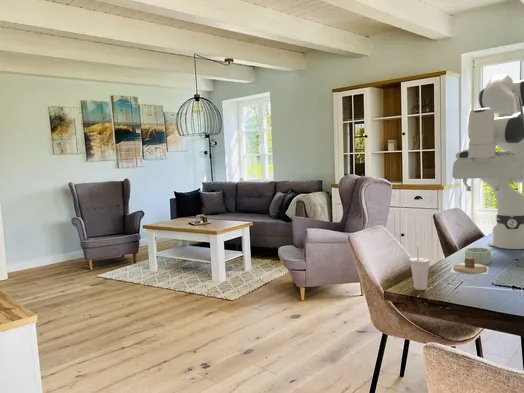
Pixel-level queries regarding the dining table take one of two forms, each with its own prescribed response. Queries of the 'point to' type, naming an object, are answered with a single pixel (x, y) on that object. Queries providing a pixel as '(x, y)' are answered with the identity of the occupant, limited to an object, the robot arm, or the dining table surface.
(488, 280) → the dining table surface
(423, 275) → the smoothie
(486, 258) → the bowl
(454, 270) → the mat
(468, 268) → the lid
